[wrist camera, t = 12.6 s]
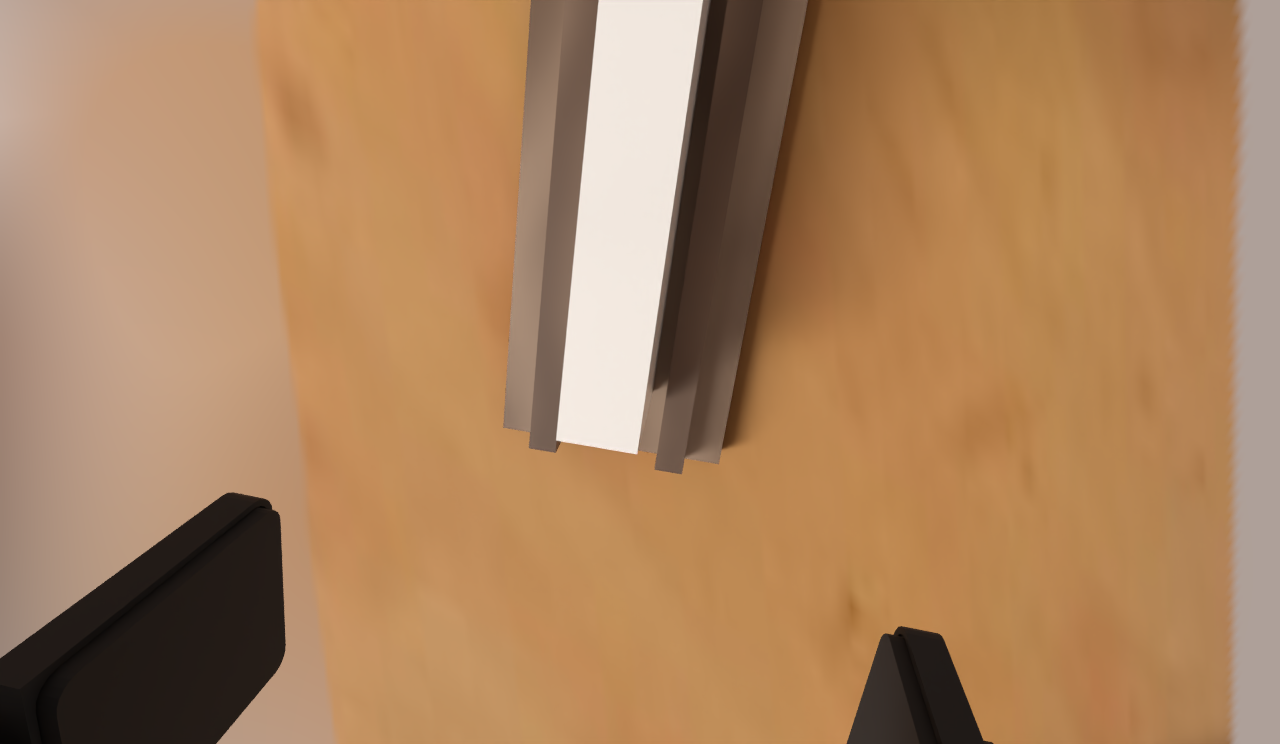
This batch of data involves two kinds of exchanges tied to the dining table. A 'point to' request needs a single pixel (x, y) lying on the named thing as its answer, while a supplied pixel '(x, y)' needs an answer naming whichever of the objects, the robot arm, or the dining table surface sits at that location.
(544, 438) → the walnut rack
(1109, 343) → the dining table surface
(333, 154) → the dining table surface
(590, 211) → the white strip
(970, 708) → the robot arm
